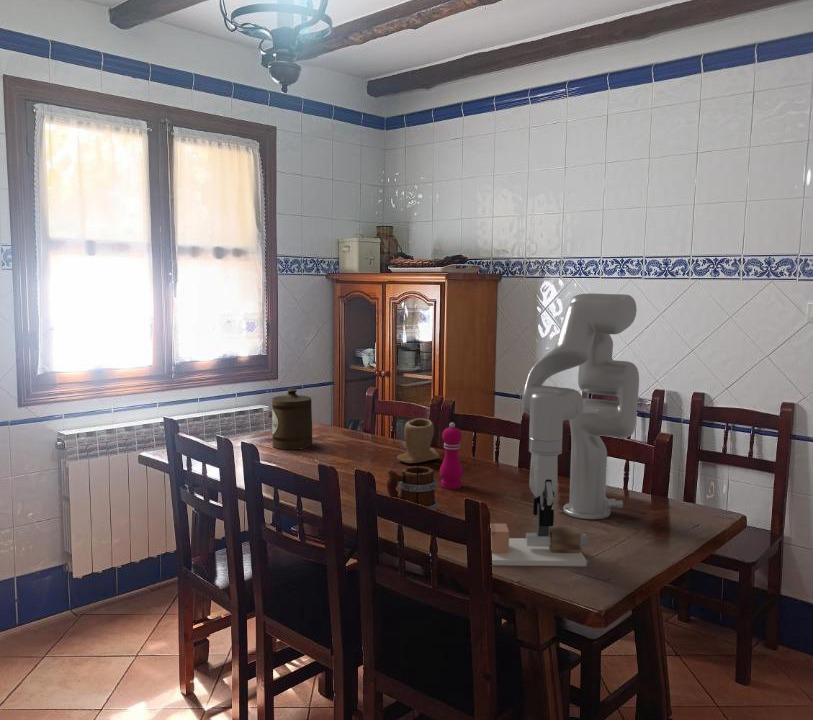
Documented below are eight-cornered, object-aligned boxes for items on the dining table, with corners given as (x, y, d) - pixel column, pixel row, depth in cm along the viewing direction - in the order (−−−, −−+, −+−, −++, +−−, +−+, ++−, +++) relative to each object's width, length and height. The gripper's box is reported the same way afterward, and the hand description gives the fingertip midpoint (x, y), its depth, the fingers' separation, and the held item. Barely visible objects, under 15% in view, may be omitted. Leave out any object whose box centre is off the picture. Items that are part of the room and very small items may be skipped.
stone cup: (412, 468, 249) (412, 424, 247) (392, 460, 259) (393, 418, 257) (448, 462, 258) (448, 419, 256) (428, 455, 267) (428, 414, 266)
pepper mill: (461, 490, 224) (462, 425, 222) (437, 488, 226) (438, 424, 223) (464, 483, 231) (465, 420, 229) (441, 482, 233) (442, 419, 230)
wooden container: (279, 440, 289) (278, 384, 286) (316, 442, 287) (316, 385, 284) (267, 449, 274) (266, 390, 271) (306, 451, 272) (305, 391, 269)
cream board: (573, 543, 181) (573, 538, 181) (586, 566, 167) (586, 561, 167) (482, 542, 181) (482, 537, 181) (488, 565, 167) (488, 559, 167)
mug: (449, 513, 201) (442, 461, 199) (404, 530, 195) (395, 477, 192) (428, 502, 212) (421, 452, 209) (384, 517, 205) (376, 466, 203)
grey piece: (585, 543, 175) (586, 503, 174) (587, 547, 172) (589, 506, 171) (525, 542, 175) (526, 502, 174) (527, 546, 172) (528, 505, 171)
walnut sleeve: (575, 546, 176) (576, 527, 175) (579, 553, 171) (580, 534, 171) (547, 545, 176) (548, 526, 175) (551, 552, 171) (552, 533, 171)
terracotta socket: (505, 544, 176) (506, 523, 176) (508, 553, 171) (509, 531, 170) (488, 544, 176) (489, 523, 176) (491, 553, 171) (491, 531, 170)
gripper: (523, 437, 179) (521, 508, 181) (535, 454, 162) (533, 533, 164) (554, 437, 179) (552, 508, 181) (569, 454, 162) (567, 533, 164)
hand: (543, 519), depth 173 cm, fingers open, 7 cm apart
